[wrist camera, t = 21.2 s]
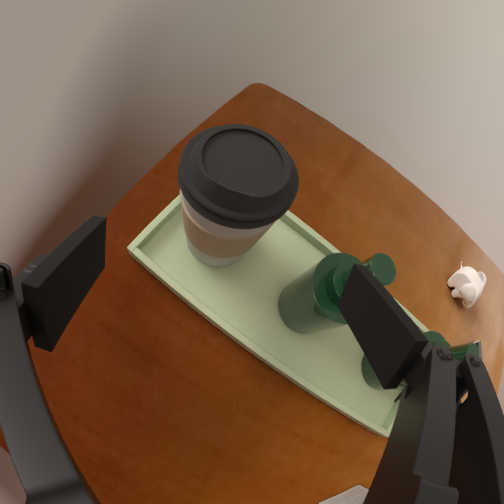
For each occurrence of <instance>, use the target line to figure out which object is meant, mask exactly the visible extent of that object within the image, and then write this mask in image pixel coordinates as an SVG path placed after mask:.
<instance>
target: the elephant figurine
mask: <svg viewBox="0 0 504 504" xmlns="http://www.w3.org/2000/svg"><path fill="white" fill-rule="evenodd" d="M485 283H486V276H485V274H484V273H483V272H478V273H477V272H476V271H475V270H474V269H473V268H471V267H462V261H461V269H459V270H458V271H457V272H455V273H454V274H453V275H452V276H451V277H450V278H449V279H448V281H447V284H448V286H449V287H455V289H454V290H453V291H452V292H451V294H452V297H453V298H456V297H459V298H462V299H463V301H462V304H463V305H464V306H465V307H467V310H468V308H470V307H471V306H472V305H473V304H474V303H475V301H476V300H477V299H478V298H479V297H480V296H481V294H482V291H483V287H484V285H485Z"/></svg>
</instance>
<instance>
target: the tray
mask: <svg viewBox="0 0 504 504" xmlns="http://www.w3.org/2000/svg"><path fill="white" fill-rule="evenodd" d="M127 249H128V251H129V254H130V255H131V256H132V257H133V258H134V259H135V260H136V261H137V262H139V263H140V264H141V265H142V266H143V267H144V268H145V269H147V270H148V271H149V272H150V273H151V274H152V275H153V276H155V277H156V278H157V279H158V280H159V281H160V282H161V283H163V284H164V285H165V286H166V287H167V288H169V289H170V290H171V291H172V292H173V293H174V294H176V295H177V296H178V297H179V298H180V299H182V300H183V301H184V302H185V303H187V304H188V305H189V306H190V307H191V308H193V309H194V310H195V311H196V312H198V313H199V314H200V315H201V316H203V317H204V318H205V319H206V320H208V321H209V322H210V323H212V324H213V325H214V326H215V327H217V328H218V329H219V330H221V331H222V332H223V333H225V334H226V335H227V336H228V337H230V338H231V339H232V340H234V341H235V342H236V343H238V344H239V345H240V346H242V347H243V348H245V349H246V350H247V351H249V352H250V353H251V354H253V355H254V356H256V357H257V358H258V359H260V360H261V361H262V362H264V363H265V364H267V365H268V366H270V367H271V368H272V369H274V370H275V371H277V372H278V373H280V374H281V375H282V376H284V377H285V378H287V379H288V380H290V381H291V382H293V383H294V384H296V385H297V386H299V387H300V388H302V389H303V390H305V391H306V392H308V393H309V394H311V395H312V396H314V397H316V398H317V399H319V400H320V401H322V402H323V403H325V404H327V405H328V406H330V407H331V408H333V409H335V410H336V411H338V412H340V413H341V414H343V415H344V416H346V417H348V418H349V419H351V420H353V421H354V422H356V423H358V424H360V425H361V426H363V427H365V428H366V429H368V430H370V431H372V432H374V433H375V434H377V435H379V436H383V437H389V435H390V433H391V430H392V427H393V423H394V420H395V417H396V413H397V410H398V406H399V402H400V399H399V400H397V402H394V400H395V399H396V398H397V396H398V395H399V394H400V393H401V391H393V390H377V389H374V388H372V387H370V386H369V385H368V384H367V383H366V382H365V380H364V378H363V375H362V359H363V356H364V352H363V350H362V349H361V347H360V345H359V343H358V342H357V340H356V338H355V336H354V334H353V333H352V331H351V329H350V327H349V326H348V325H345V326H341V327H337V328H333V329H329V330H325V331H320V332H316V333H311V334H300V333H297V332H294V331H292V330H291V329H290V328H288V327H287V326H286V325H285V323H284V322H283V321H282V319H281V316H280V314H279V309H278V300H279V296H280V294H281V291H282V290H283V288H284V287H285V286H286V285H287V284H288V283H290V282H291V281H293V280H294V279H295V278H297V277H298V276H300V275H301V274H302V273H304V272H305V271H306V270H308V269H309V268H311V267H312V266H313V265H315V264H316V263H318V262H319V261H320V260H322V259H323V258H324V257H326V256H328V255H330V254H333V253H341V252H340V251H339V250H337V249H336V248H335V247H334V246H333V245H331V244H330V243H329V242H328V241H326V240H325V239H324V238H323V237H321V236H320V235H319V234H318V233H317V232H315V231H314V230H313V229H312V228H310V227H309V226H308V225H306V224H305V223H304V222H303V221H301V220H300V219H299V218H298V217H296V216H295V215H294V214H293V213H291V212H290V211H289V210H288V211H287V212H286V213H285V214H284V215H283V216H282V217H281V218H279V219H278V220H276V222H275V223H274V224H273V225H272V226H271V228H270V229H269V230H268V231H267V232H266V233H265V234H264V235H263V236H262V237H261V238H260V239H259V240H258V241H257V242H256V243H255V245H254V246H253V247H252V248H251V249H250V250H248V251H247V252H246V253H244V254H243V256H242V257H241V258H240V259H239V260H238V261H236V262H235V263H233V264H231V265H228V266H224V267H213V266H209V265H206V264H204V263H202V262H200V261H199V260H197V259H196V258H195V257H194V256H193V255H192V253H191V252H190V250H189V248H188V245H187V240H186V233H185V230H184V226H183V218H182V209H181V200H180V195H179V196H178V197H177V198H175V199H174V200H173V201H172V202H171V203H170V204H169V205H168V206H167V207H166V208H165V209H164V210H163V211H162V212H161V213H160V214H159V215H158V216H157V217H156V218H155V219H154V220H153V221H152V222H151V223H150V224H149V225H148V226H147V227H146V228H145V229H144V230H143V231H142V232H141V233H140V234H139V235H138V236H137V237H136V238H135V240H134V241H133V242H132V243H131V244H130V245H129V246H128V247H127ZM395 300H396V299H395ZM396 301H397V300H396ZM397 303H398V304H399V305H400V306H401V307H402V309H403V310H404V311H405V312H406V313H407V315H408V316H409V317H411V319H412V320H413V321H414V322H415V324H416V325H417V326H418V327H419V328H420V330H421V331H422V332H427V331H429V330H428V329H427V328H426V327H425V326H424V325H423V324H422V323H421V322H420V321H419V320H418V319H417V318H415V317H414V316H413V315H412V314H411V313H410V312H409V311H408V310H407V309H406V308H405V307H403V306H402V305H401V304H400V303H399V302H398V301H397Z"/></svg>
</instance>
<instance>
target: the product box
mask: <svg viewBox="0 0 504 504" xmlns="http://www.w3.org/2000/svg"><path fill="white" fill-rule="evenodd" d="M368 491H369V490H368V489H366V488H364V487H363V486H361V485H356V486H354V487H352V488H350V489H348V490H346V491H344V492H342V493H340V494H338V495H336V496H333V497H331V498H329V499H326V500H324V501H322V502H319V503H318V504H363V502H364V500H365V497H366V495H367V493H368Z"/></svg>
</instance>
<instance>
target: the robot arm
mask: <svg viewBox="0 0 504 504" xmlns="http://www.w3.org/2000/svg"><path fill="white" fill-rule="evenodd" d="M106 219H107V218H104V217H98V216H92V217H91V218H90V219H88V221H86V222H85V223H84V224H83V225H81V226H80V227H79V228H78V229H77V230H76V231H74V232H73V233H72V234H71V235H70V236H69V237H68V238H66V239H65V240H64V241H63V242H62V243H61V244H60V245H59V246H58V247H56V248H55V249H54V250H53V251H52V252H51V253H50V254H49V255H47V254H42V255H40V256H38V257H36V258H34V259H33V260H32V261H31V262H30V263H29V264H28V265H27V266H26V267H25V268H24V269H23V270H21V271H20V272H19V273H18V274H17V275H16V276H15V277H14V278H13V279H12V274H11V269H10V267H9V265H7V264H5V263H0V425H1V429H2V432H3V435H4V438H5V442H6V445H7V448H8V451H9V453H10V456H11V459H12V462H13V464H14V467H15V469H16V472H17V474H18V477H19V479H20V481H21V483H22V486H23V488H24V490H25V493H26V496H27V499H26V502H25V503H26V504H101V503H100V502H99V500H98V499H97V497H96V496H95V494H94V493H93V491H92V489H91V488H90V486H89V485H88V483H87V481H86V480H85V478H84V476H83V475H82V473H81V471H80V470H79V468H78V466H77V464H76V463H75V461H74V459H73V457H72V455H71V453H70V451H69V449H68V447H67V445H66V443H65V441H64V439H63V437H62V435H61V433H60V431H59V429H58V427H57V424H56V422H55V420H54V418H53V415H52V413H51V410H50V408H49V406H48V403H47V401H46V398H45V395H44V393H43V390H42V387H41V384H40V382H39V379H38V376H37V373H36V370H35V366H34V363H33V360H32V356H31V353H30V349H29V346H28V343H27V341H28V340H29V338H30V337H31V335H32V337H33V341H34V344H35V347H38V348H41V349H44V350H47V351H50V352H52V351H53V349H54V347H55V345H56V344H57V342H58V340H59V338H60V337H61V335H62V333H63V332H64V330H65V328H66V326H67V325H68V323H69V321H70V320H71V318H72V317H73V315H74V313H75V312H76V310H77V309H78V307H79V305H80V304H81V302H82V301H83V299H84V298H85V296H86V294H87V293H88V291H89V290H90V288H91V287H92V285H93V284H94V282H95V281H96V279H97V278H98V276H99V275H100V274H101V272H102V271H103V269H104V268H105V238H106ZM337 307H338V308H339V310H340V312H341V314H342V315H343V317H344V319H345V320H346V322H347V324H348V326H349V327H350V329H351V331H352V333H353V334H354V336H355V338H356V340H357V342H358V343H359V345H360V347H361V349H362V350H363V352H364V354H365V356H366V358H367V360H368V361H369V363H370V365H371V367H372V369H373V371H374V372H375V374H376V376H377V378H378V380H379V382H380V384H381V385H382V387H383V389H384V390H385V389H395V388H397V387H398V386H399V384H400V383H401V382H402V380H403V379H405V381H406V383H407V385H406V386H405V387H404V389H403V390H402V391H401V393H400V394H399V395H398V396H397V398H396V399H395V400H394V402H397V400H399V399H400V402H399V406H398V410H397V413H396V417H395V420H394V423H393V427H392V430H391V433H390V436H389V439H388V442H387V445H386V448H385V451H384V453H383V456H382V459H381V461H380V464H379V467H378V469H377V472H376V474H375V477H374V479H373V481H372V484H371V486H370V488H369V491H368V493H367V495H366V497H365V500H364V502H363V504H504V415H503V412H502V409H501V406H500V403H499V400H498V398H497V395H496V392H495V390H494V387H493V384H492V382H491V379H490V377H489V374H488V372H487V370H486V367H485V365H484V363H483V361H482V360H481V359H480V357H478V356H477V355H474V354H472V353H466V355H465V356H464V358H463V359H462V360H461V361H459V360H455V357H454V355H453V354H452V353H451V352H450V351H449V350H448V349H447V348H445V347H443V346H440V345H435V346H433V345H432V343H431V342H430V341H429V340H428V338H427V337H426V336H425V335H424V333H423V332H422V331H421V330H420V328H419V327H418V326H417V325H416V324H415V322H414V321H413V320H412V319H411V317H409V316H408V315H407V313H406V312H405V311H404V310H403V309H402V307H401V306H400V305H399V304H398V303H397V301H396V300H395V299H394V298H393V297H392V296H391V294H390V293H389V292H388V291H387V290H386V289H385V288H384V286H383V285H382V284H381V283H380V282H379V281H378V280H377V278H376V277H375V276H374V275H373V274H372V273H371V272H370V271H369V270H368V268H367V267H366V266H364V265H359V264H354V265H353V267H352V270H351V272H350V275H349V277H348V279H347V282H346V284H345V287H344V289H343V291H342V294H341V296H340V298H339V301H338V303H337ZM467 391H468V397H467V399H466V400H465V401H464V402H463V403H461V398H462V397H463V396H464V395H465V394H466V392H467Z"/></svg>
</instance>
